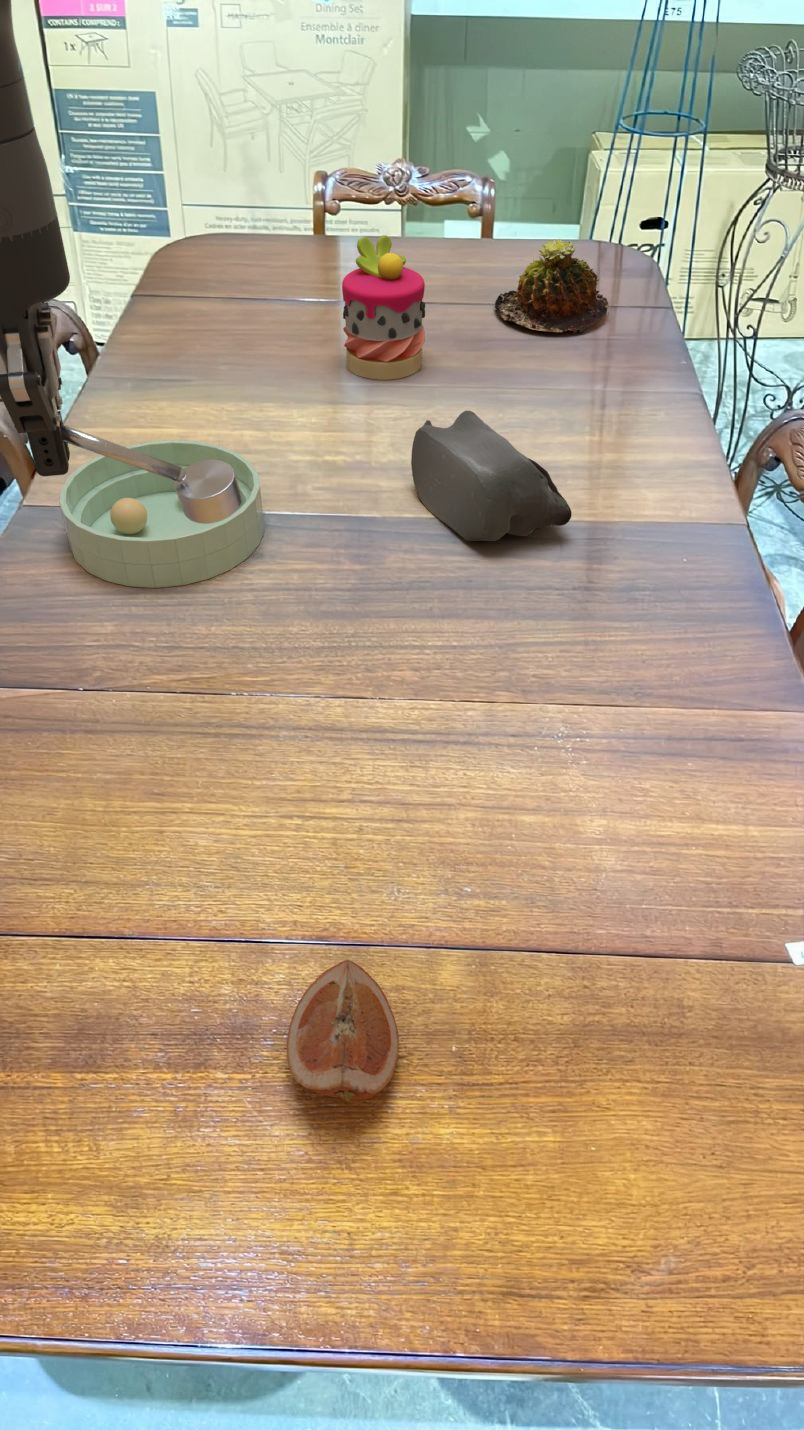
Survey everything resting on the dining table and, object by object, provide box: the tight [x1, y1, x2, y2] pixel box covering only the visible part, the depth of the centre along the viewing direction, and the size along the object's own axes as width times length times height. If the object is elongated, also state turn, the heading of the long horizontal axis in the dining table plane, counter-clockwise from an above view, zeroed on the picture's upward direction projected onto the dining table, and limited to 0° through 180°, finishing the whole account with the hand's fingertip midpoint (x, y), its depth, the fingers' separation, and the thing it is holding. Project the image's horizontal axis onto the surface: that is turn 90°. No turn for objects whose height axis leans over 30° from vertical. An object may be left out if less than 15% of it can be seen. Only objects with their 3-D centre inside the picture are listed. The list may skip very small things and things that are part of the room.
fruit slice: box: [286, 959, 400, 1102], centre depth 64 cm, size 8×7×5 cm
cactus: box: [494, 238, 610, 335], centre depth 150 cm, size 17×16×10 cm
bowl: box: [58, 439, 265, 589], centre depth 107 cm, size 19×19×6 cm
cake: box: [341, 234, 426, 381], centre depth 136 cm, size 10×11×15 cm
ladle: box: [60, 423, 242, 524], centre depth 78 cm, size 14×5×10 cm, turn 94°
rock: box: [410, 410, 572, 542], centre depth 111 cm, size 18×11×8 cm, turn 29°
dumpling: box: [110, 498, 147, 534], centre depth 108 cm, size 4×4×4 cm
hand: (54, 467), depth 78 cm, fingers closed on ladle, 1 cm apart
